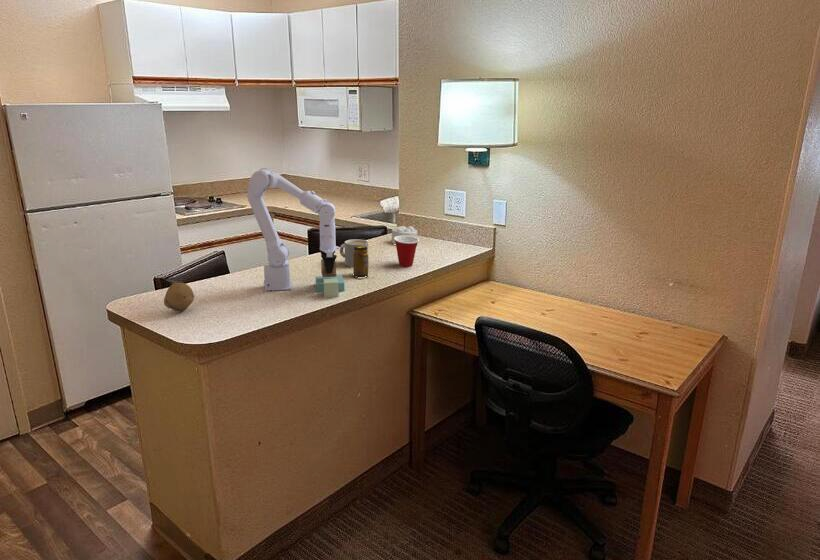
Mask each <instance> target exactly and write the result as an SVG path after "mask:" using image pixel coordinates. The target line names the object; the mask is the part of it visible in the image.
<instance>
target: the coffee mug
mask: <svg viewBox="0 0 820 560" xmlns="http://www.w3.org/2000/svg"><path fill="white" fill-rule="evenodd" d="M357 245H364V246H367V252H368V253H369V241H368V240H366V239H357V238H356V239H354V238H353V239H348V240H345V241H344V243H342V244H341V245H340V246H339V253H340V256H341V257H342V258H344V266H345V267H347V268H351V267H352V268H353V254H354V247H355V246H357Z"/></svg>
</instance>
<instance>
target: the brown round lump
mask: <svg viewBox="0 0 820 560" xmlns="http://www.w3.org/2000/svg"><path fill="white" fill-rule="evenodd" d="M194 299H195V295H194V291H193V289H192V288H191V286H190V285H188V284H187V283H185V282H174V283H172V284H171V285H170V286H169V287H168V288H167V291H166V292H165V296H164V297H163V303H164V306H165V307H167V308H168V309H171V310H173V311H175V312H178V311H182V312H184V311H185V310H187V309H188V308H189V307H190V306H191V304H192V303H193V302H194Z"/></svg>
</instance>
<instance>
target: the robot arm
mask: <svg viewBox="0 0 820 560" xmlns="http://www.w3.org/2000/svg"><path fill="white" fill-rule="evenodd" d="M268 188H269V189H277V188H279V189H280V190H283V191H284V192H286V193H288V194H289V195H292V196H293V197H295V198H296V199H297V200H299V203H300V205H302V206H303V207H305V208H306V209H308V210H310V211H311V212H313V213H314V214H317V215H318V218H319V224H318V225H319V253H320V257H321V258H322V259H321V260H323V261H324V264H325V269H326V273H332V272H333V266H334V262H335V261H336V259H337V257H338V255H337V254H335V253H336V250H340V246H337V245H336V240H337V239H336V222H335V221H336V219H335V214H336V207H335V205H334V204H333V203H332V202H331V201H327V199H326V198H322V197H320V196H319V195H317V194H316V192H315V191H314V190H302V189H301V188H300V187H298V186H297V185H295V184H294V183H292V182H290V181H289V180H288V179H287V178H285V177H283V176H282V175H280V174H279V173H277V172H275V171H272V170H271V169H270V168H266V167H262V168H260V169H258V170H257V171H255V172H254V173H252V175H251V176H250V178H249V180H248V189H247V194H246V198H247V200H248V201H247V202H248V203H249V205H250V207H251V210H252V212H253V215H254V218H255V219H256V223H257V224H258V226H259V230H260V232H261V234H262V236H263V239H264V242H265V244H266V247H265V248H266V252H267V254H268V255H267V259H268V262H269V264H264V265H263V273H264V274H263V277H264V280H263V284H264V291H265V290H266V291H265V292H268V291H269V292H270V290H272V291H284V290H285V291H288V290H292V282H291V276H290V275H291V274H290V262H289V261H288V257H289V256H290V251H289V248H288V247H287V246H286V245H285V244H284V242H283V240H282V239H281V237H280V236H279V234H278V231H277V228H276V226H275V225H274V222H273V220H272V217H271V215H270V211H269V209H268V207H267V204H266V203H265V200H264V195H265V193H266V191H267V189H268ZM267 290H268V291H267Z"/></svg>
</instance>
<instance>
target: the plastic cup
mask: <svg viewBox="0 0 820 560" xmlns="http://www.w3.org/2000/svg"><path fill="white" fill-rule="evenodd" d="M394 240H395V243H396V245H395V246H396V247H395V248H396V254H397V259H398V264H399V266H400V267H402V266H403V268H409V267H412V266H414V265H413V264H414V260H415V255H416V250H417V249H416V248H417V246H418V243H419V242H420V239H419V237H417V238H416V237H412V236H396V237H394Z"/></svg>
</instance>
